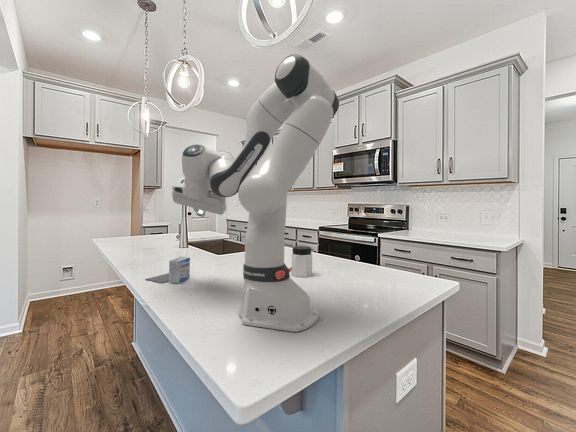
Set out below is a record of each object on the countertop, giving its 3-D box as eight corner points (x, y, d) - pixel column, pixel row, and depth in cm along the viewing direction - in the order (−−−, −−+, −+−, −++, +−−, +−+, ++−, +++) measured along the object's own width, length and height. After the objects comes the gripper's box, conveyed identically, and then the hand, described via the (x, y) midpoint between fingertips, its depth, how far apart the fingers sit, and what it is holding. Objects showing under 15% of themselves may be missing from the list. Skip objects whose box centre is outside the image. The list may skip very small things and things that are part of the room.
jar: (300, 271, 135) (300, 245, 134) (315, 274, 130) (315, 247, 129) (287, 275, 128) (288, 247, 127) (303, 278, 123) (303, 249, 122)
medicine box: (178, 283, 114) (179, 261, 113) (168, 282, 115) (169, 260, 114) (189, 278, 121) (190, 257, 121) (179, 276, 122) (180, 256, 122)
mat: (190, 275, 126) (190, 274, 126) (162, 283, 114) (162, 282, 114) (173, 272, 131) (173, 271, 131) (145, 280, 119) (145, 279, 119)
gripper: (228, 189, 109) (229, 216, 118) (176, 176, 111) (181, 204, 120) (221, 200, 104) (222, 227, 114) (167, 186, 106) (173, 214, 115)
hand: (201, 215), depth 117 cm, fingers closed
